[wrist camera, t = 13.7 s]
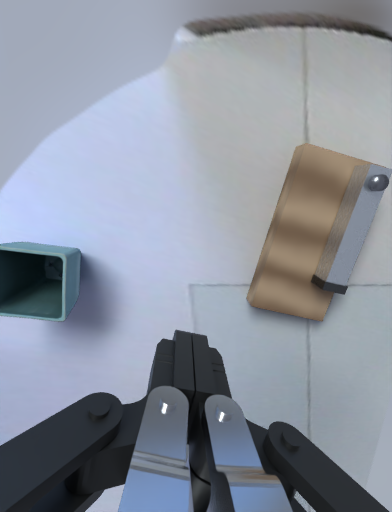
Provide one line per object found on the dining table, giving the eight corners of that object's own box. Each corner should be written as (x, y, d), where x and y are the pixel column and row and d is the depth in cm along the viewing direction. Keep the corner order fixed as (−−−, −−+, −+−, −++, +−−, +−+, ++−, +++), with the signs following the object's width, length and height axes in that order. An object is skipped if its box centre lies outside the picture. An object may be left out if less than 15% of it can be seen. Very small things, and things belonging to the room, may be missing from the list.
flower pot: (31, 232, 36) (-16, 244, 28) (93, 239, 37) (66, 254, 28) (33, 287, 38) (-11, 315, 30) (91, 293, 39) (65, 322, 30)
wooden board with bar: (312, 312, 42) (327, 326, 38) (246, 298, 41) (254, 310, 36) (370, 169, 37) (395, 166, 32) (295, 146, 35) (312, 140, 31)
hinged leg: (353, 165, 33) (375, 162, 29) (375, 171, 34) (400, 169, 30) (310, 281, 37) (325, 291, 33) (331, 286, 38) (347, 296, 34)
